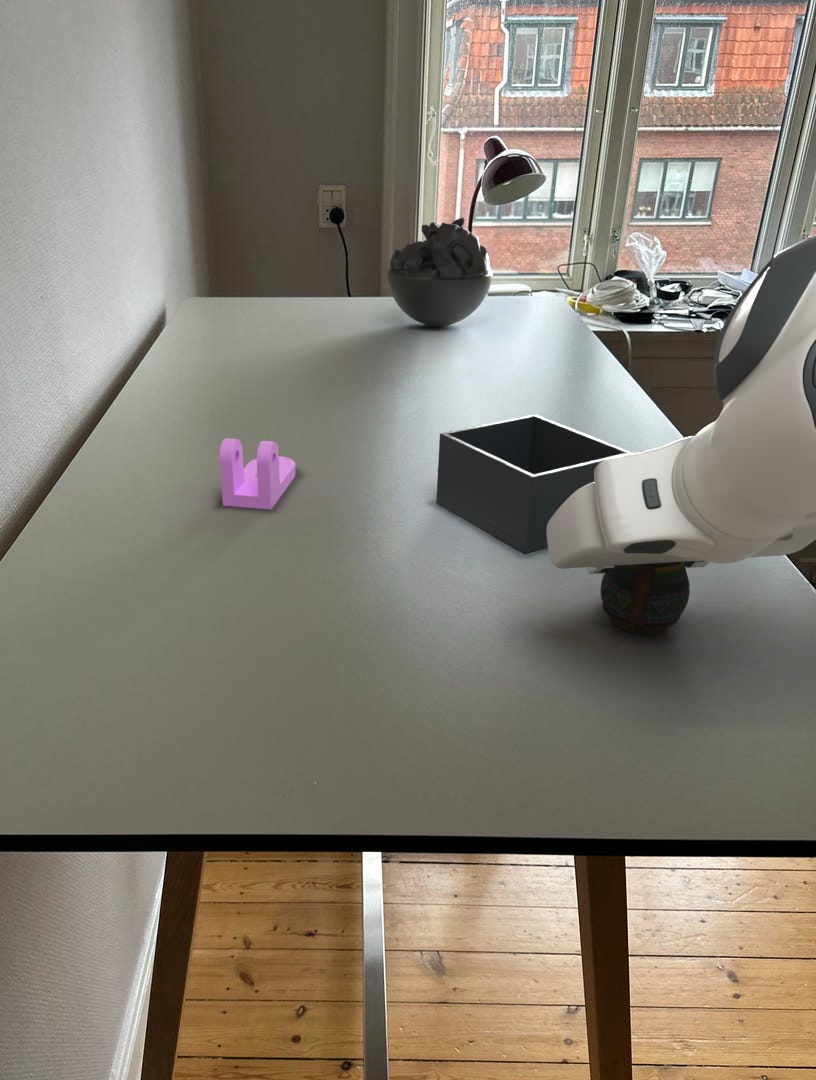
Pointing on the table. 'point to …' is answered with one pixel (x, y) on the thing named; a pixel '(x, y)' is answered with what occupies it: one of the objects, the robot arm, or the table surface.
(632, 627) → the mate gourd
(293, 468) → the bracket
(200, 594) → the table surface
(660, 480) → the robot arm
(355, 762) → the table surface
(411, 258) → the grey filled bowl
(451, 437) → the waste bin
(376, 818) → the table surface
